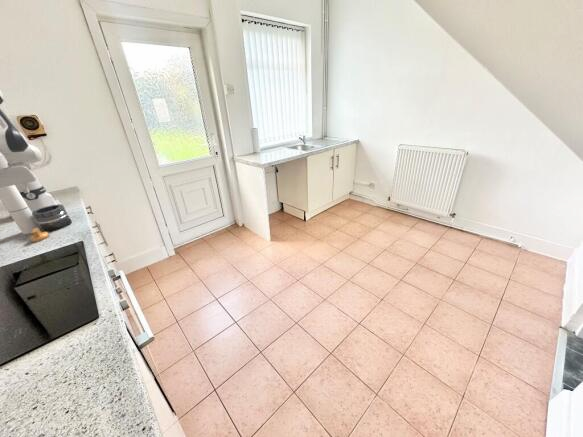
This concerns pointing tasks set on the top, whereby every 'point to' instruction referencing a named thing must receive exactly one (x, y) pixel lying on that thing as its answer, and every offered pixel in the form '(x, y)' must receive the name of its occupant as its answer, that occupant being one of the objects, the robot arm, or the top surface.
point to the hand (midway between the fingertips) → (12, 195)
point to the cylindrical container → (18, 209)
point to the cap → (38, 235)
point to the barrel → (52, 217)
